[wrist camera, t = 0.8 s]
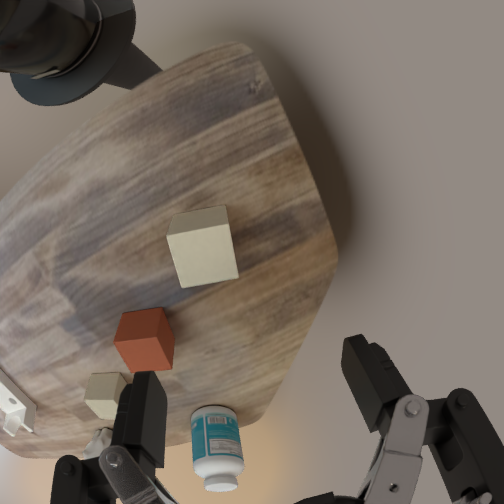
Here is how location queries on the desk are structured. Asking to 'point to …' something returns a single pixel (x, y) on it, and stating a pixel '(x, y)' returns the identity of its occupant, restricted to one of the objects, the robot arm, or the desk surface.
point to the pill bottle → (216, 448)
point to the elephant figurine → (98, 443)
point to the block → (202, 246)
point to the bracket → (15, 406)
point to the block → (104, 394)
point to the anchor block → (145, 340)
